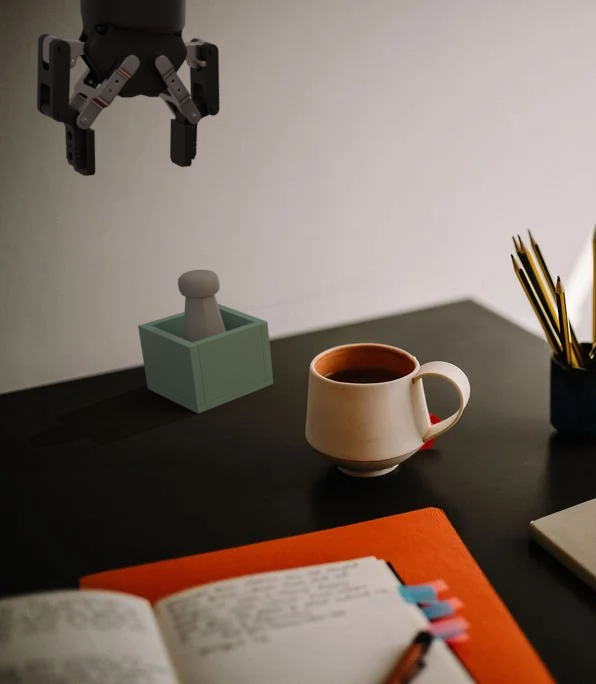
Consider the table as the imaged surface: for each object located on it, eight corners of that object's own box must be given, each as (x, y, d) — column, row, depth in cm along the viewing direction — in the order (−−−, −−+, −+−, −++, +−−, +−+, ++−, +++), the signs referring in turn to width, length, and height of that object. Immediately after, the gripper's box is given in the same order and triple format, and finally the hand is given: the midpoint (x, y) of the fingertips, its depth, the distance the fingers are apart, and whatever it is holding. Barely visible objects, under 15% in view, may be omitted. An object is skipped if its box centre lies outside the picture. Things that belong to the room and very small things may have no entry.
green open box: (198, 414, 98) (189, 347, 95) (147, 389, 104) (137, 325, 101) (273, 384, 105) (267, 321, 102) (222, 362, 111) (215, 302, 108)
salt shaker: (195, 396, 100) (180, 284, 95) (176, 379, 104) (160, 271, 99) (245, 382, 104) (233, 273, 99) (225, 366, 108) (212, 261, 103)
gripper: (189, -40, 76) (185, 151, 82) (12, -58, 65) (24, 162, 72) (243, -25, 72) (234, 174, 78) (65, -42, 61) (72, 190, 68)
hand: (134, 168), depth 75 cm, fingers open, 8 cm apart
